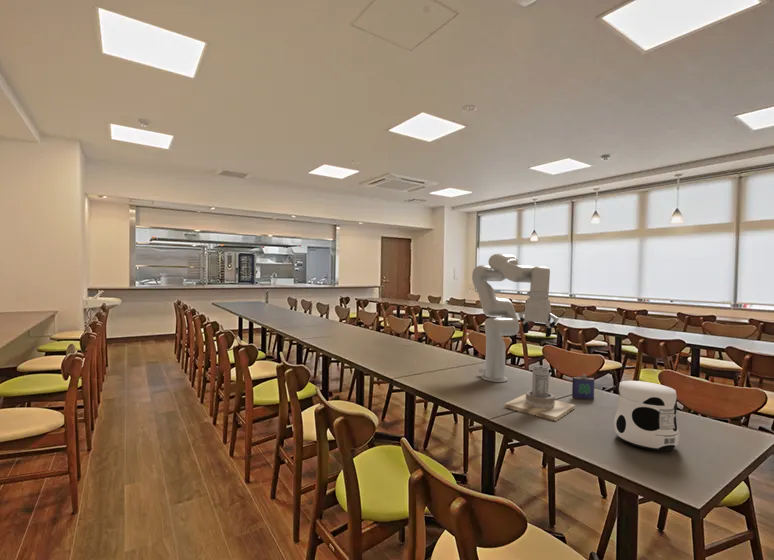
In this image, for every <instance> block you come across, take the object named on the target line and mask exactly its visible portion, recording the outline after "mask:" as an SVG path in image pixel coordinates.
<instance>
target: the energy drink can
mask: <svg viewBox="0 0 774 560" xmlns="http://www.w3.org/2000/svg"><path fill="white" fill-rule="evenodd" d="M549 379H550V372H549V369H548V367H547V366H545V365H537V364H536V365H534V368H533V369H532V385H531V386H532V387H531V391H532V395H533V396H536V397H544V398H546V397H548V392H549V383H550V380H549Z"/></svg>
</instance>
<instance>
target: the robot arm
mask: <svg viewBox="0 0 774 560" xmlns="http://www.w3.org/2000/svg"><path fill="white" fill-rule="evenodd" d="M487 262H488V264H482V265H477V266H475V267H474V268H473V270H472V274H471V275H472V276H471V277H472V278H471V280H472V283H473V286H474V288H475V290H476V292H477V294H478V298H479V301H480V305H481V308H482V312H483V314H484V315H485V316H487V317H488V318H487V319H486V320H485V322H484V331H485V365H484V366H485V368H483V367H479V369H478V373H481V374H482V375H481V378H482V379H483V380H485V381H487V382H492V383H505V382H507V381H508V377H507V376H506V375H505V374H506V373H505V372H506V342H505V340H504V339H503V336H504V337H505V336H507V337H508V336H515V335H517V334H518V333H519V331H520V323H519V320H520V321H521V323H522V326H523V329H522V331H523V334H528V333H529V332H530V331H529V330H530V324H529V323H530V322H534V323H539V324H545V326H546V328H545V338H550V337H551V335H552V328H553V327H554V326H555V325H557V323H558V321H559V320H560V319H559V317H557V316H556V315H554V314H553V313H552V306H551V300H550V299H549V295H550V294H549V293H550V277H551V276H550V275H551V269H550V268H549V267H547V266H536V265H522V264H521V265H519V262H518V258H517V256H515V254H508V253H507V254H506V253H496V254H492V255H491V256H490V257H488V261H487ZM505 280H508V281H511V282H513V283H527V284H529V283H530V285H529V291H527V292H526V295H527V296H528V297H527V299H526V302H525V307H524V308H525V309H524V311H523V310H522V312H519V313H516V310H515V307H514V304H513V302H512V301H511V300H510V299H508V298H504V297H497V295H496V292H495V290H494V288H493V287H492V285H491V284H490V283H489V282H502V281H505ZM517 315H518V316H517ZM518 317H519V319H518ZM551 319H552V322H551Z"/></svg>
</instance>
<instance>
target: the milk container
mask: <svg viewBox="0 0 774 560" xmlns="http://www.w3.org/2000/svg"><path fill="white" fill-rule="evenodd" d="M677 402H678V398H677V391H676V389H674V388H672V387H671V386H666V385H663V384H658V383H655V382H649V381H648V382H647V381H641V380H622V381H620V382H619V386H618V395H617V411H616V413H615V416H614V419H613V425H614V426H613V427H614V432H615V435H617V437H618V438H619V439H620V440H622V441H624V442H625V443H627V444H629V445H633V446H634V447H637V448H642V449H646V450H652V451H662V452H663V451H669V450H673V449H676V447H677V446H678V443H679V440H680V430H679V427H678V422H677V411H678V405H677Z"/></svg>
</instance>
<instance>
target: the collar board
mask: <svg viewBox="0 0 774 560" xmlns="http://www.w3.org/2000/svg"><path fill="white" fill-rule="evenodd" d="M504 408H505V409H508V408H509V410H512V409H513V411H516V410H517V412H520V411H521V412H520V413H523V412H525V413H524V414H527V413H529V414H528V415H531V414H533V415H532V416H534V415H536V417H538V416H539V418H542V417H543V419H546V420H549V419H550V420H549V421H553V420H554V421H553V422H557V421H559V420H560V419H561V417H562V418H563V417H564V415H565V416H566V415H568V414H569V413H571V412H572V411H573V409H574V408H576V405H575V404H573V403H568V402H565V401H564V402H563V401H560V400H556V397H555V395H554V393H553V394H552V393H550V392H549V391H548V397H546V398H544V397H536V396H533V395H532V390H527V391H526V392H525V394H522V395H520V396H518V397H516V398H513V399H512V400H509V401H508V402H505V403H504ZM571 410H572V411H571ZM574 410H575V409H574ZM570 411H571V412H570ZM567 413H568V414H567ZM558 419H559V420H558Z"/></svg>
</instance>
